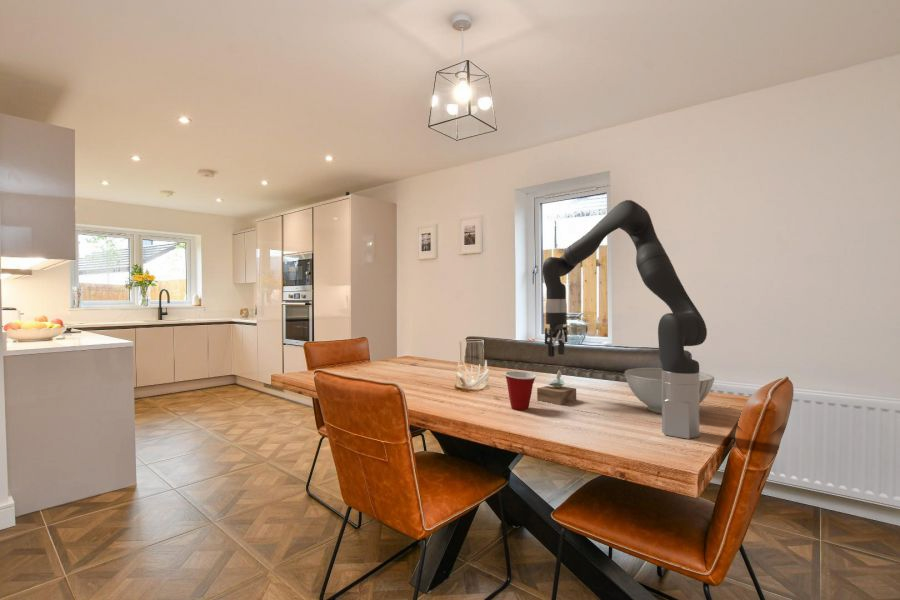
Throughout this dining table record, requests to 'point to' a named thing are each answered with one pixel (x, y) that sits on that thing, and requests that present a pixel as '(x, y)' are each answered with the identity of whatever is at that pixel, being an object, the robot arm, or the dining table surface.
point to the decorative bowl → (659, 386)
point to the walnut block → (556, 395)
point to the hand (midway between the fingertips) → (556, 355)
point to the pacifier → (557, 381)
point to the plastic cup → (519, 388)
